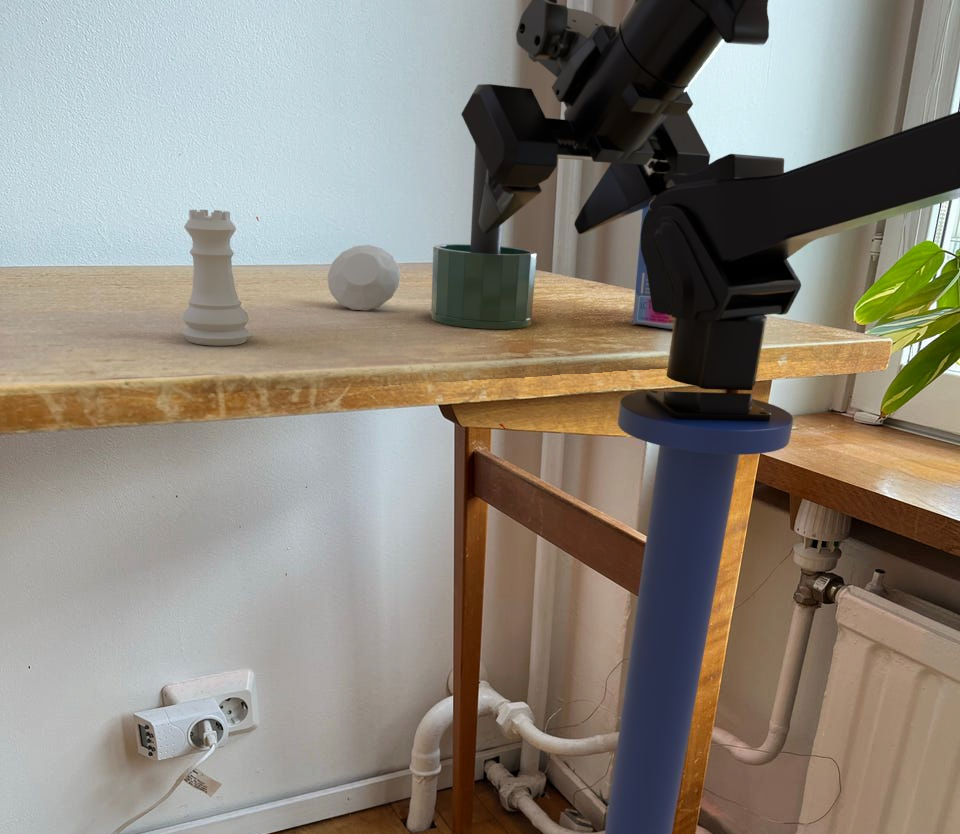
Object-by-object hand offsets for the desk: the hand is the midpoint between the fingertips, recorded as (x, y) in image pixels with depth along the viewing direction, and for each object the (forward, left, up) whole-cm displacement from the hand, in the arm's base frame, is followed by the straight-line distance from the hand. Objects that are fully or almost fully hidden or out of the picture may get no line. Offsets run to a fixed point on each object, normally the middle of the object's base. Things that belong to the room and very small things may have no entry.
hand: (532, 228), depth 73 cm
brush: (+5, +3, -7) cm, 9 cm away
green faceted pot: (+5, +3, -7) cm, 9 cm away
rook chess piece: (-8, +23, -8) cm, 25 cm away
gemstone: (+10, +12, -8) cm, 18 cm away
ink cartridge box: (+8, -15, -8) cm, 19 cm away
